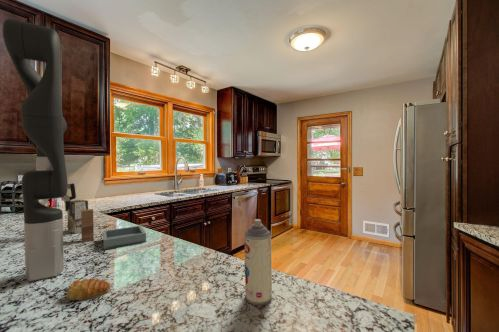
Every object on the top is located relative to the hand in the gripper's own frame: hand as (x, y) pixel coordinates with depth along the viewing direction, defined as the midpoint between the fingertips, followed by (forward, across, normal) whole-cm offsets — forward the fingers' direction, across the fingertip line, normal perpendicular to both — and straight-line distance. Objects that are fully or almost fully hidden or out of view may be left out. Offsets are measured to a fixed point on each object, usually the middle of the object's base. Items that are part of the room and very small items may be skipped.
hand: (52, 212), depth 84 cm
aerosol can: (+16, +46, -66) cm, 82 cm away
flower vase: (+19, -7, +38) cm, 43 cm away
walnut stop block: (+18, +10, +18) cm, 27 cm away
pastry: (+17, +10, -36) cm, 41 cm away
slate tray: (+18, +24, +6) cm, 30 cm away
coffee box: (+19, +6, +40) cm, 45 cm away
